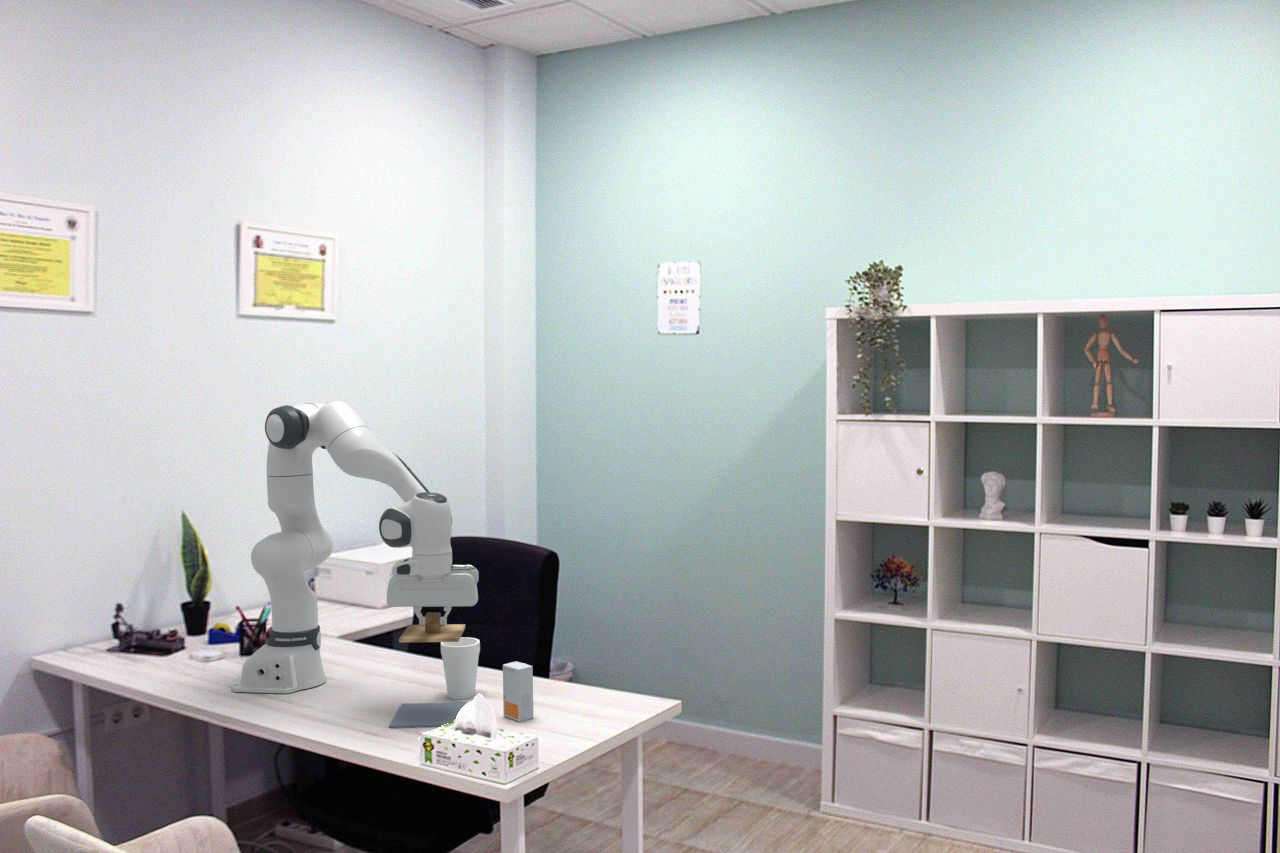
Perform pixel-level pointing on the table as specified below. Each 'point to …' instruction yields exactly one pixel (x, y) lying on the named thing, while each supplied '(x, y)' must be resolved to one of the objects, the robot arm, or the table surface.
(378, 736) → the table surface
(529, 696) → the skincare box
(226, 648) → the table surface
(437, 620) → the oak lid
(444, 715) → the slate mat
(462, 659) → the foam cup
